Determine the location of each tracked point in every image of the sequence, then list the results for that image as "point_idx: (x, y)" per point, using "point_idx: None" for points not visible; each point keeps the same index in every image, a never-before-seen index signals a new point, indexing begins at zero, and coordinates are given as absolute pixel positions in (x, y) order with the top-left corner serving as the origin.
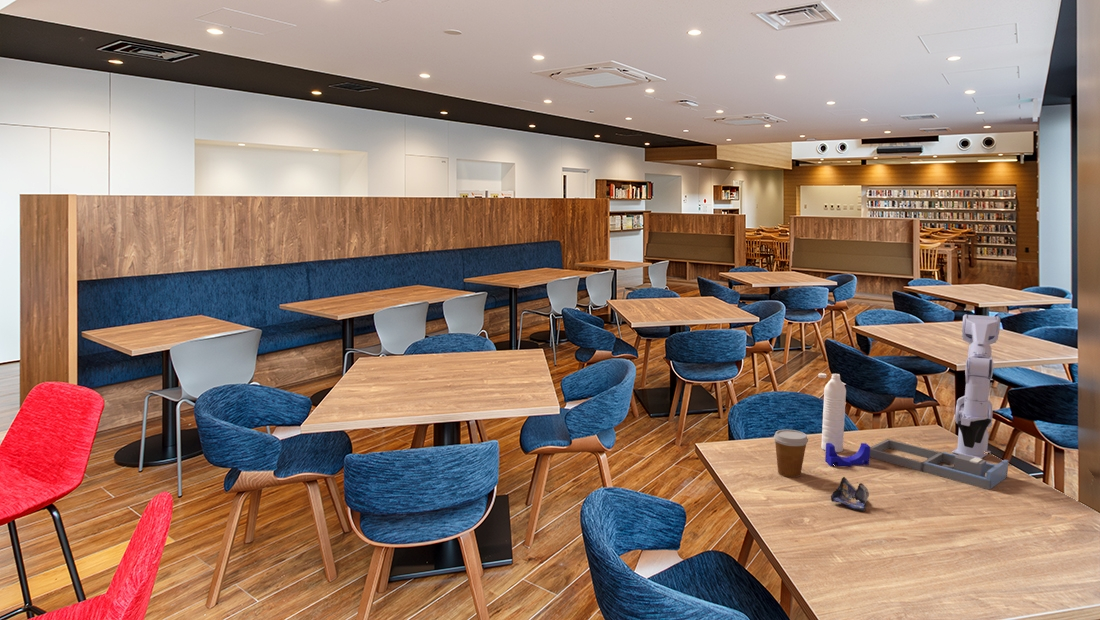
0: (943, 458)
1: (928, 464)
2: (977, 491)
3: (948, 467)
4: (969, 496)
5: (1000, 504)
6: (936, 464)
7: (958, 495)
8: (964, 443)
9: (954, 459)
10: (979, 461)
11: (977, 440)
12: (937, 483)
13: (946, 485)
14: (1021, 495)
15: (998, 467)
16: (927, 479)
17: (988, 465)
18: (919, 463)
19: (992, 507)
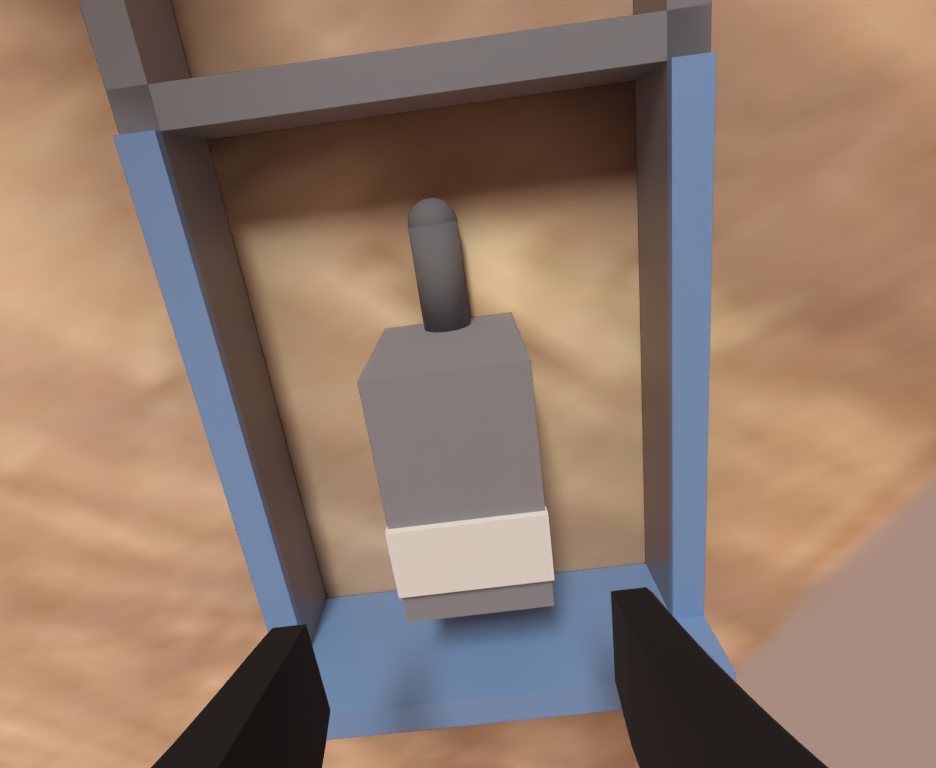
0: (646, 89)
1: (130, 185)
2: (203, 595)
3: (415, 272)
4: (66, 607)
5: (141, 740)
6: (487, 100)
7: (4, 565)
8: (244, 669)
9: (363, 376)
10: (462, 587)
11: (623, 689)
12: (48, 371)
13: (85, 431)
14: (399, 743)
15: (458, 724)
16: (40, 273)
17: (668, 517)
18: (107, 73)
19: (52, 737)
